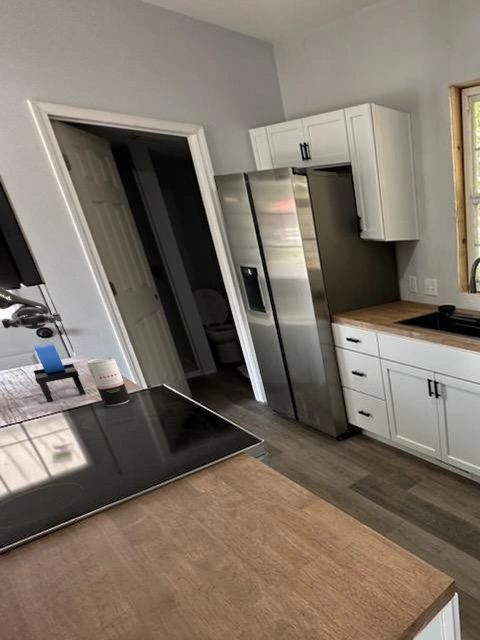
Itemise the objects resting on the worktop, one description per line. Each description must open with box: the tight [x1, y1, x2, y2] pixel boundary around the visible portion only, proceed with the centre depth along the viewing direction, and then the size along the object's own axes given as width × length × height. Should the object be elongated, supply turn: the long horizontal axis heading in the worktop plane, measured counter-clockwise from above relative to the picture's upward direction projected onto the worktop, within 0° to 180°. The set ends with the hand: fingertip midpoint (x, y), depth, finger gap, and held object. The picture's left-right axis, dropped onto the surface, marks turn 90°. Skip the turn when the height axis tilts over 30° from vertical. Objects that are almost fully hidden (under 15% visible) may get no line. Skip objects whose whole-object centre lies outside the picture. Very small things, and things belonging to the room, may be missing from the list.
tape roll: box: [33, 342, 65, 374], centre depth 143 cm, size 5×10×10 cm, turn 50°
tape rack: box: [33, 363, 87, 403], centre depth 145 cm, size 14×10×9 cm
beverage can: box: [87, 356, 131, 407], centre depth 135 cm, size 7×7×15 cm
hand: (33, 322), depth 145 cm, fingers open, 8 cm apart
